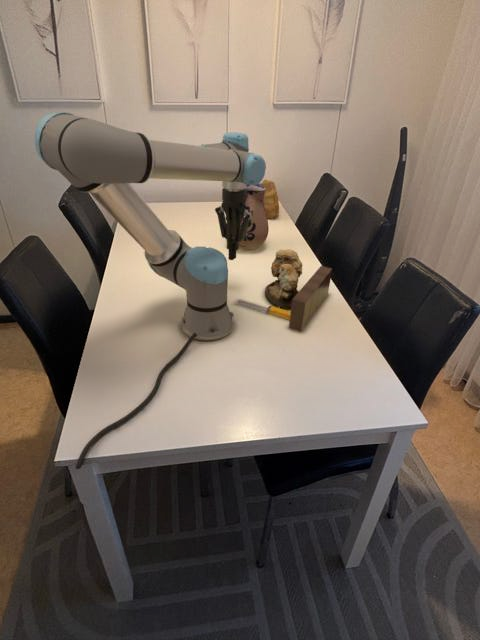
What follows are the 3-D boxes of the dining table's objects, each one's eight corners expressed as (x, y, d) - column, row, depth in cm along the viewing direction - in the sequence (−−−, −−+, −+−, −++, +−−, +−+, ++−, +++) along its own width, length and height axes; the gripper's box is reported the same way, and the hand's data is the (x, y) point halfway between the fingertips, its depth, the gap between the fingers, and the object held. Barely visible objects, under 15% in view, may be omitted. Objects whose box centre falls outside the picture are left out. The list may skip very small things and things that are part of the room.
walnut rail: (301, 331, 117) (305, 303, 111) (288, 327, 118) (292, 299, 113) (327, 294, 136) (332, 268, 130) (316, 291, 137) (321, 265, 132)
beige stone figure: (258, 284, 140) (261, 240, 131) (290, 282, 142) (295, 238, 133) (272, 311, 125) (277, 263, 116) (307, 308, 128) (314, 260, 118)
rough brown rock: (245, 207, 216) (243, 179, 207) (274, 204, 216) (274, 177, 208) (247, 223, 197) (246, 193, 189) (280, 220, 198) (280, 191, 189)
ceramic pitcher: (220, 250, 164) (220, 190, 150) (238, 233, 181) (239, 177, 167) (260, 257, 159) (264, 196, 146) (274, 239, 176) (279, 182, 162)
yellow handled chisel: (295, 317, 123) (295, 312, 122) (291, 321, 121) (292, 316, 120) (239, 300, 131) (239, 295, 130) (235, 304, 129) (235, 299, 128)
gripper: (258, 189, 121) (254, 259, 134) (222, 182, 126) (221, 250, 139) (247, 194, 115) (243, 267, 128) (210, 187, 120) (210, 257, 133)
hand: (232, 258), depth 133 cm, fingers closed
